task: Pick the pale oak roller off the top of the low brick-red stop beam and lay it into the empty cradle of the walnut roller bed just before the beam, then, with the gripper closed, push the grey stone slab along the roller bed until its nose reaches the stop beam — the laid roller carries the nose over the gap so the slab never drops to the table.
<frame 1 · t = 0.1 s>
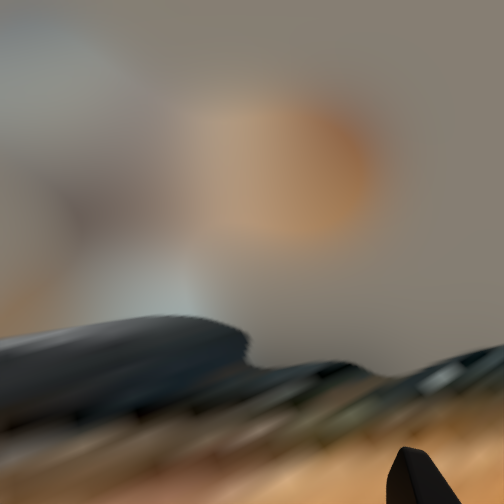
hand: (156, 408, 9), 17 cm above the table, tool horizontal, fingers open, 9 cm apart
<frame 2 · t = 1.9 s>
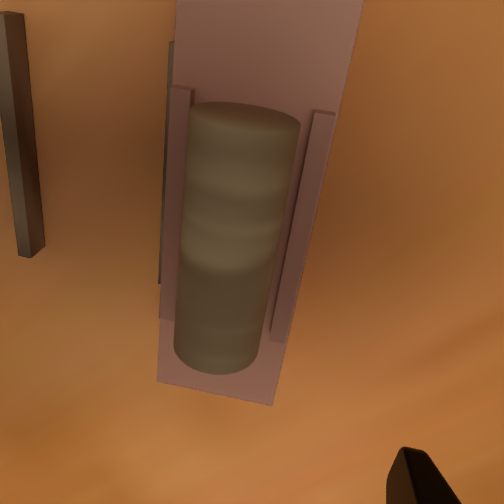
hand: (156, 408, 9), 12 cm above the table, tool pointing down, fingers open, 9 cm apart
stop beam: (254, 184, 19), on the table
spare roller: (237, 225, 16), point 4 cm above the table, touching stop beam
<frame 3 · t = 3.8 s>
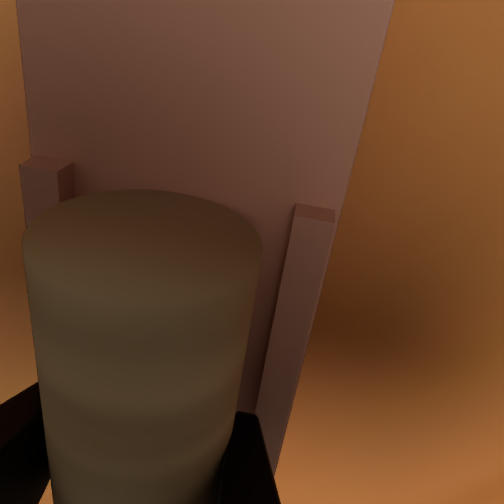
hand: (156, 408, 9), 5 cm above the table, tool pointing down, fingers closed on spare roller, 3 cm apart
stop beam: (213, 275, 13), on the table
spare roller: (169, 377, 9), point 4 cm above the table, touching gripper, stop beam
when the fingers open (2 cm above the table, at t = 7.0 s): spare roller drops 2 cm, on the table.
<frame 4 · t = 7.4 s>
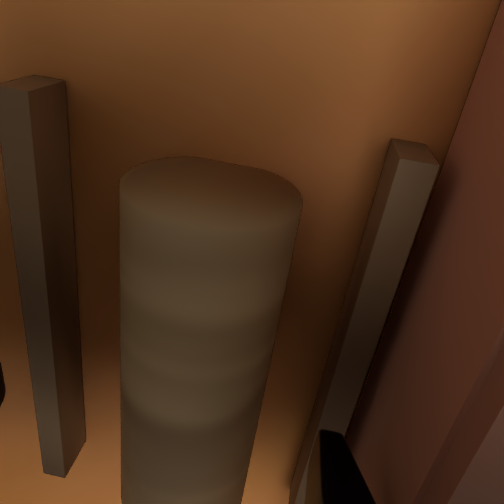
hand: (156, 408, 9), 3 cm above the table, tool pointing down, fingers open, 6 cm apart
stop beam: (484, 386, 10), on the table
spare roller: (200, 321, 11), on the table, tilted 10°
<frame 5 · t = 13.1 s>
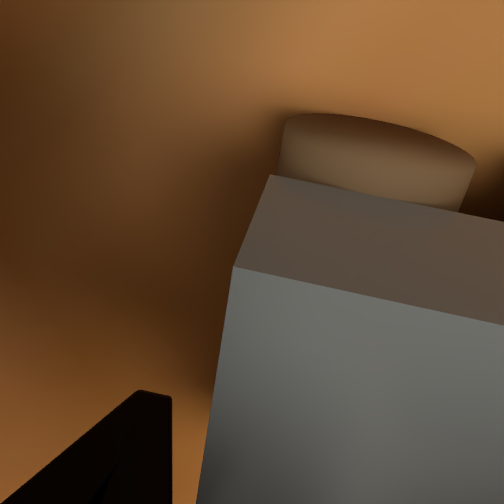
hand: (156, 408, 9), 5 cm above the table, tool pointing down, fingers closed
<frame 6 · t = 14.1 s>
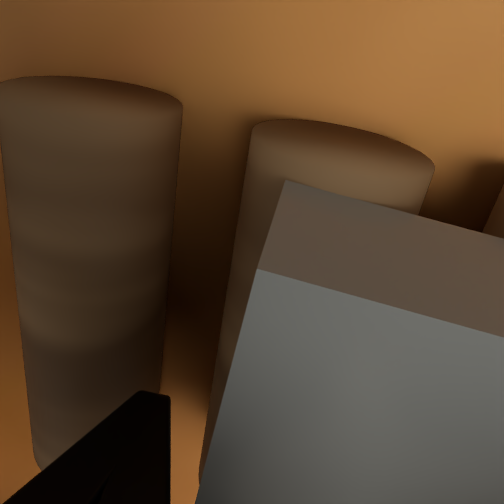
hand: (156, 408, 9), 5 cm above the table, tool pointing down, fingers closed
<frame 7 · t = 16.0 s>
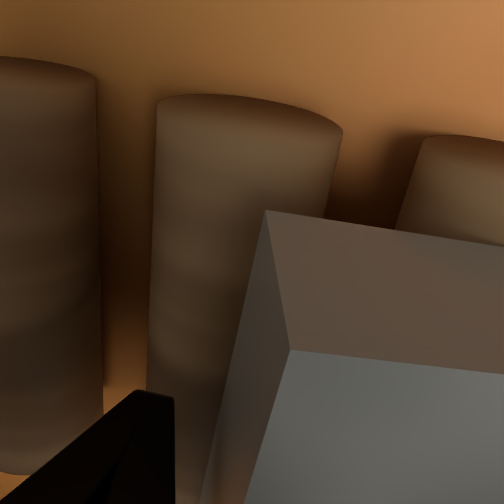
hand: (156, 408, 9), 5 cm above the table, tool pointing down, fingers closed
roller bed: (307, 300, 13), on the table
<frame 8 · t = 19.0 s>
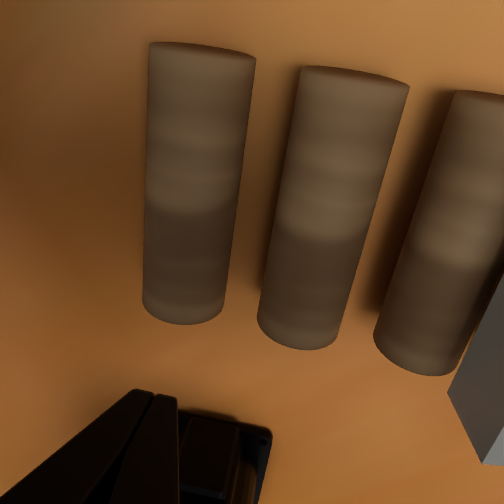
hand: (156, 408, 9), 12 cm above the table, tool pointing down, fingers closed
roller bed: (496, 231, 18), on the table
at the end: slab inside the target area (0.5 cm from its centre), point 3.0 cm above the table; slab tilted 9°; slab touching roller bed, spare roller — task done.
